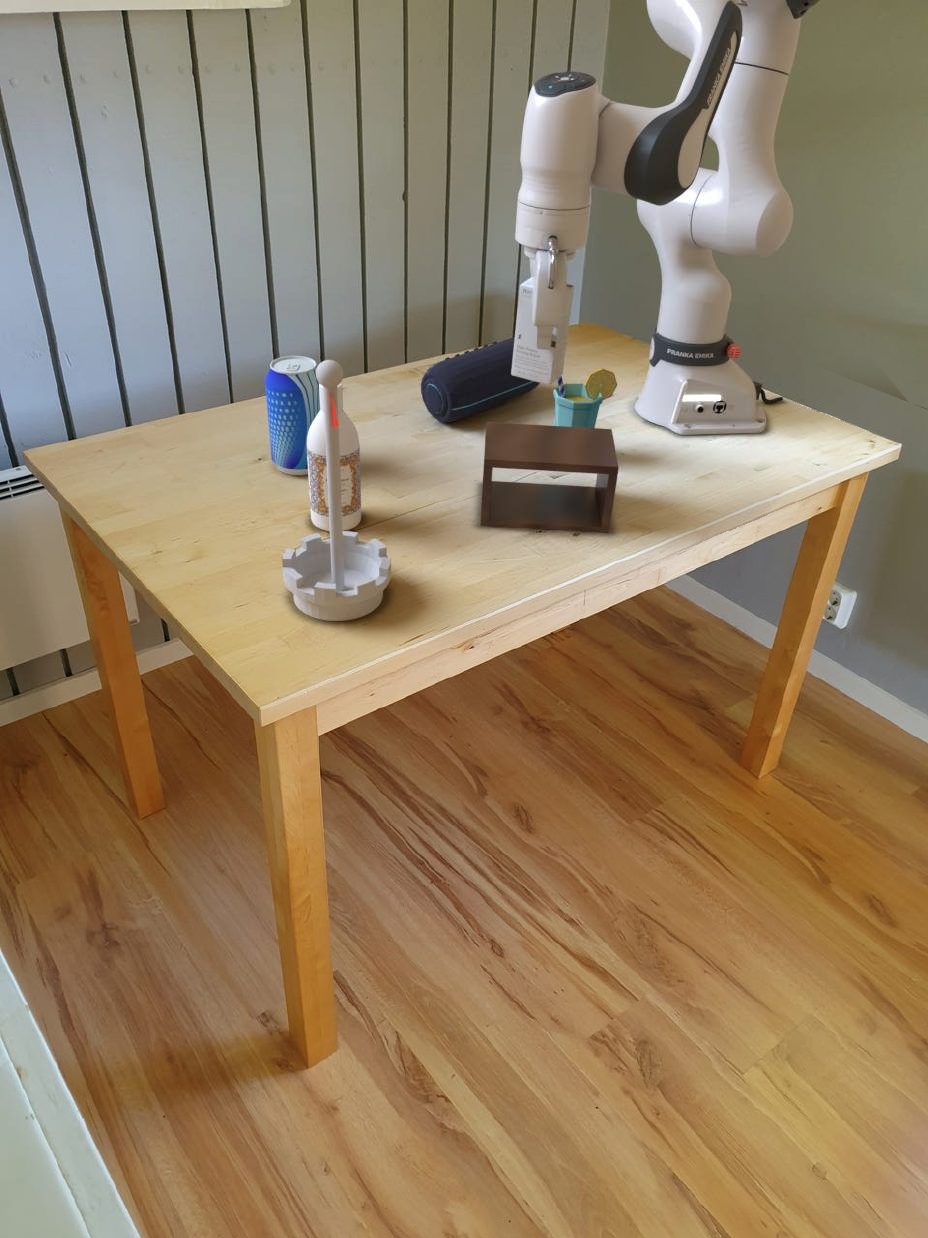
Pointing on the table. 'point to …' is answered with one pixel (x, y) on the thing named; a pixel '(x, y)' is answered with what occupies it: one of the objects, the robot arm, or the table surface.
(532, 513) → the shelf
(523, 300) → the cosmetic box
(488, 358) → the portable speaker
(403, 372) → the table surface
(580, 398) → the cup
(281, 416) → the beer can
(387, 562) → the flag stand
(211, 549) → the table surface
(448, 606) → the table surface
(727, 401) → the robot arm
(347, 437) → the bath foam
